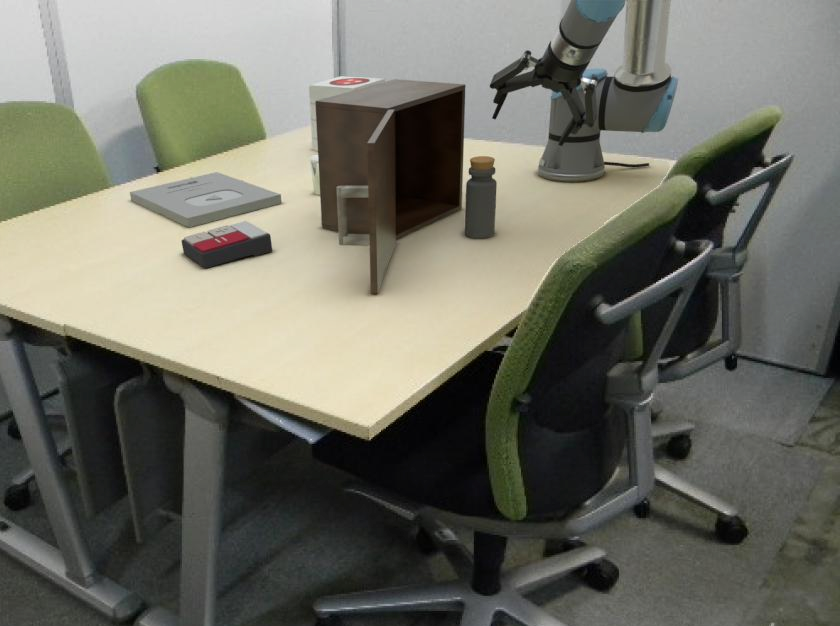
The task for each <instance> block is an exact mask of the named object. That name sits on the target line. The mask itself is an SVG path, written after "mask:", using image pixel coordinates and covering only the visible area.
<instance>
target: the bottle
mask: <svg viewBox="0 0 840 626" xmlns="http://www.w3.org/2000/svg"><path fill="white" fill-rule="evenodd" d="M495 162H496V159H495V158H494V157H493V156H489V155H488V156H487V155H479V156H475V157H473V156H472V157H471V158H470V159H469V164H470V167H469V168H468V175H469V176H470V177H471V178H469V179H468V180H467V181H466V183H465V209H464V210H465V211H464V235H465V236H466V237H468V238H471V239H488V238H491V237H493V236H494V235H495V227H496V226H495V225H496V205H497V184H498V183H497V180H496V179H495V178H493V176H494V175H495V174H496V167H495V166H494V165H495Z"/></svg>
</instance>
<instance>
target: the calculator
mask: <svg viewBox="0 0 840 626" xmlns="http://www.w3.org/2000/svg"><path fill="white" fill-rule="evenodd" d="M206 231H207V232H206ZM206 231H201V232H197V233H194V234H190V235H186V236H184V237H183V239H181V247H182V252H183V254H184V255H185V256H186V257H188V258H189V259H190V260H192V261H193V262H194V263H196V264H197V265H199V266H200V267H201V268H202V269H209V268H211V267H216V266H218V265H221V264H225V263H228V262H232V261H235V260H238V259H241V258H245V257H248V256H255V257H258V256H262V255H265V254H268V253H272V252H273V244H272V238H271V234H270V233H268V232H267V231H265V230H263V229H261V228H259V227H258V226H256V225H254V224H253V223H250V222H249V221H247V220H243V221H240V222H236V223H233V224H230V225H229V224H226V225H222V226H218V227H215V228H212V229H208V230H206Z"/></svg>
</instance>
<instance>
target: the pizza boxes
mask: <svg viewBox="0 0 840 626" xmlns="http://www.w3.org/2000/svg"><path fill="white" fill-rule="evenodd" d="M383 82H386V78H378V77H363V76H362V77H360V76H346V75H345V76H343V75H340V76H337V77H333V78H329V79H326V80H322V81H318V82H316V83H312V84H309V85H308V95H309V96H308V97H309V108H310V110H309V111H310V128H311V131H310V132H311V147H312V148H311V149H312V151H316V152H318V143H317V124H316V105H315V101H317V100H321V99H325V98H328V97H332V96H335V95H339V94H343V93H346V92H350V91H354V90H357V89H361V88H365V87H368V86H372V85H375V84H379V83H383Z"/></svg>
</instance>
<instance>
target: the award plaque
mask: <svg viewBox="0 0 840 626" xmlns="http://www.w3.org/2000/svg"><path fill="white" fill-rule="evenodd" d="M129 197H130V201H131V202H133V203H135V204H137V205H139V206H141V207H144V208H146V209H148V210H150V211H152V212H154V213H156V214H159V215H161V216H163V217H165V218H167V219H169V220H171V221H173V222H175V223H178V224H180V225H182V226H184V227H186V228H189V229H190V228H192V227H198V226H201V225H204V224H207V223H211V222H216V221H220V220H223V219H227V218H231V217H234V216H239V215H243V214H246V213H250V212H254V211H258V210H262V209H265V208H269V207H273V206H277V205H280V204H282V194H281V193H278V192H275V191H272V190H270V189H267V188H264V187H261V186H258V185H255V184H252V183H249V182H246V181H244V180H241V179H238V178H235V177H232V176H230V175H227V174H224V173H221V172H219V171H216V172H211V173H207V174H202V175H198V176H194V177H188V178H185V179H180V180H176V181H171V182H167V183H163V184H159V185H155V186H151V187H146V188H141V189H137V190H134V191H133V190H132V191H130V192H129Z"/></svg>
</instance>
